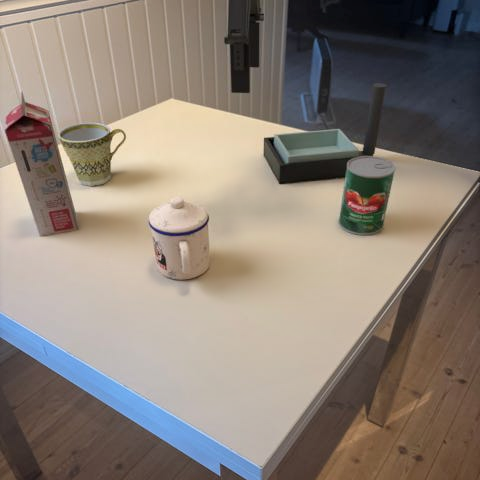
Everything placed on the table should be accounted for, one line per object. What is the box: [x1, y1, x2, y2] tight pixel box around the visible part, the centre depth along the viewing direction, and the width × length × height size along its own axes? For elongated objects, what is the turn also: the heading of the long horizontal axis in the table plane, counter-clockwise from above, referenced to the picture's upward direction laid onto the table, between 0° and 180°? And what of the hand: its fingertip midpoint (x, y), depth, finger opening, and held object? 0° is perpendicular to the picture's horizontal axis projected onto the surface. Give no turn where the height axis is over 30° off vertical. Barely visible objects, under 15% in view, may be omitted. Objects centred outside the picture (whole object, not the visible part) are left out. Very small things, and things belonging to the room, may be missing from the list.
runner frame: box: [263, 136, 356, 185], centre depth 105 cm, size 18×15×4 cm
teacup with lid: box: [148, 196, 211, 281], centre depth 74 cm, size 12×9×12 cm
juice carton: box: [4, 91, 79, 237], centre depth 82 cm, size 7×7×22 cm
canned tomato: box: [338, 155, 396, 236], centre depth 84 cm, size 8×8×11 cm
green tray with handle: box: [273, 82, 387, 164], centre depth 102 cm, size 21×12×15 cm, turn 101°
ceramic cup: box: [57, 122, 127, 187], centre depth 100 cm, size 13×10×10 cm
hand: (246, 78), depth 78 cm, fingers open, 13 cm apart
